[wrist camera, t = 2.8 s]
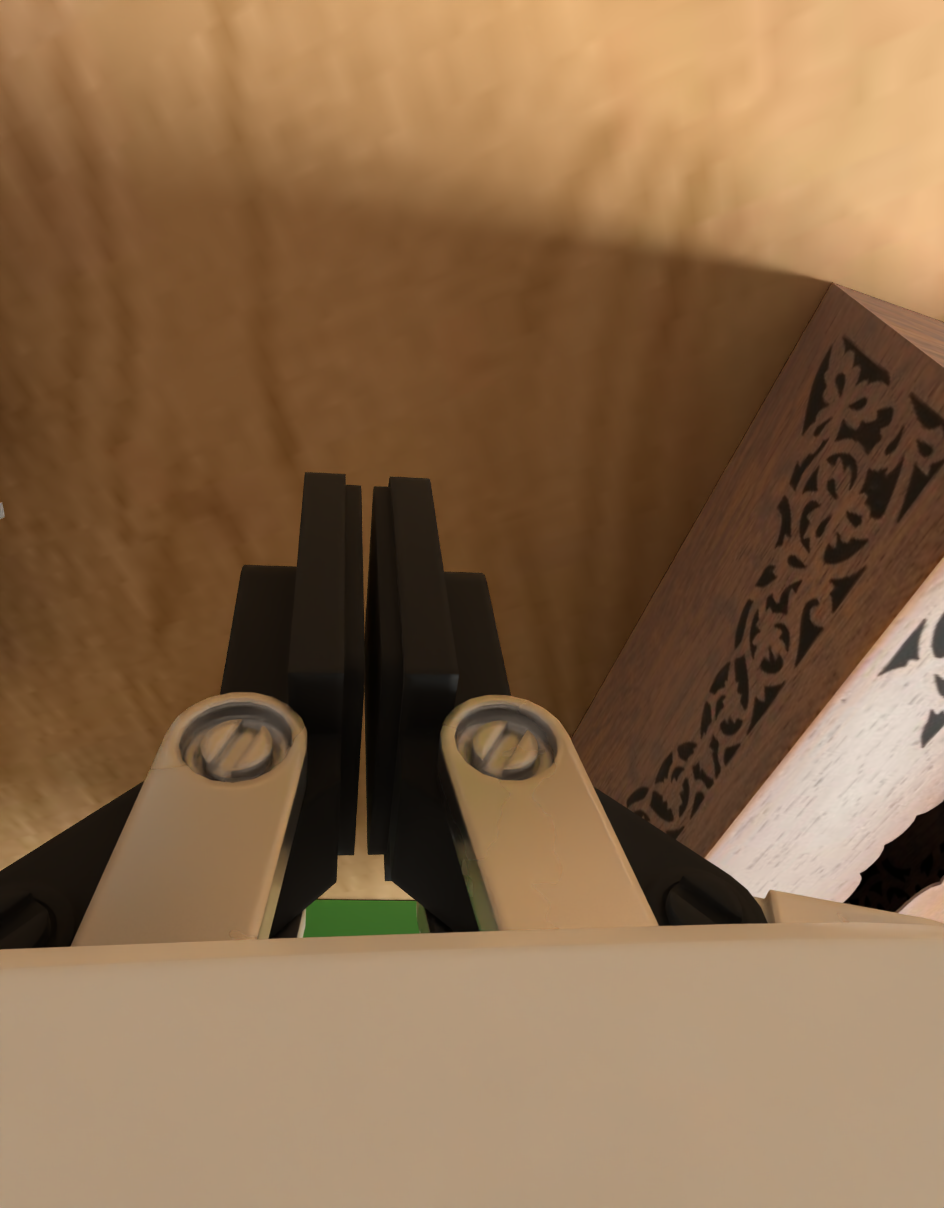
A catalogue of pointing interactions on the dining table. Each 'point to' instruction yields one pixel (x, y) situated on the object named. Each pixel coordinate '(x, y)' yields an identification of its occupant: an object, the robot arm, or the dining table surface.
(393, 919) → the hardback book
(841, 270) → the dining table surface
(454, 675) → the robot arm
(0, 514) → the spaceship
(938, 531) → the tissue box cover
